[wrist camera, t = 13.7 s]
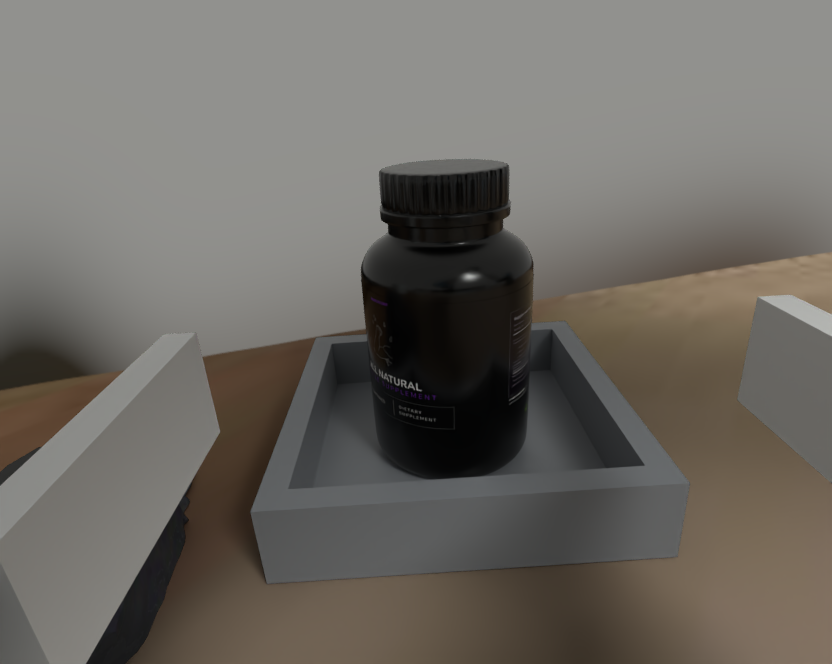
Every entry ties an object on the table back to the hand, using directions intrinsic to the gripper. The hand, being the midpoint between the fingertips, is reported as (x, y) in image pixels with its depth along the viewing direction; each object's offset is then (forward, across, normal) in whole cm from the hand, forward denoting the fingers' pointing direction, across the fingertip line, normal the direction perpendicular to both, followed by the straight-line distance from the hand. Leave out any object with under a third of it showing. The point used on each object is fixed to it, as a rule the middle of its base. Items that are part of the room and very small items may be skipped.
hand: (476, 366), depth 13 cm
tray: (+9, 0, -9) cm, 13 cm away
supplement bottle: (+9, 0, -8) cm, 12 cm away
